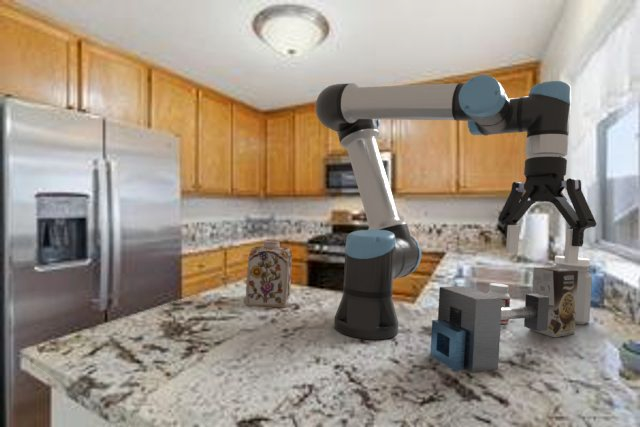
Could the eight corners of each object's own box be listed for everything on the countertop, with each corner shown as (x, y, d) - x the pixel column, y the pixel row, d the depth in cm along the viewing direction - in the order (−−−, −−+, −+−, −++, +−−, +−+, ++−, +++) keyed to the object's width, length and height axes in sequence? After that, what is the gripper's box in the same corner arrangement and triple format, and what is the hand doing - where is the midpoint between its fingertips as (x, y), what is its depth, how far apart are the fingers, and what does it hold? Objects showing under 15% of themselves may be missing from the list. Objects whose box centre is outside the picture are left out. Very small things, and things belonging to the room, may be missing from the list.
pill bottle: (511, 325, 93) (513, 287, 93) (488, 322, 94) (490, 285, 94) (504, 319, 98) (506, 283, 98) (483, 316, 99) (485, 281, 99)
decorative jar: (286, 308, 97) (289, 244, 97) (244, 306, 98) (247, 241, 97) (290, 298, 109) (293, 240, 109) (253, 295, 109) (256, 238, 109)
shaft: (471, 336, 67) (473, 300, 67) (460, 331, 70) (462, 296, 70) (547, 330, 73) (549, 297, 73) (534, 325, 76) (536, 293, 76)
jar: (552, 321, 98) (556, 257, 98) (545, 312, 107) (548, 254, 107) (595, 327, 95) (599, 261, 94) (583, 318, 104) (586, 257, 104)
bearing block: (472, 372, 63) (476, 299, 63) (436, 350, 72) (439, 286, 72) (498, 369, 65) (502, 298, 65) (459, 348, 74) (463, 286, 74)
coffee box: (555, 338, 84) (559, 271, 84) (528, 329, 90) (532, 266, 90) (576, 334, 88) (579, 270, 88) (549, 326, 94) (552, 266, 94)
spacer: (454, 370, 63) (456, 332, 63) (430, 355, 70) (432, 320, 70) (463, 369, 64) (465, 331, 64) (438, 354, 70) (440, 319, 70)
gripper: (624, 152, 64) (616, 268, 64) (509, 165, 87) (503, 250, 87) (596, 147, 61) (588, 268, 61) (485, 162, 85) (480, 249, 85)
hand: (538, 257), depth 74 cm, fingers open, 13 cm apart
